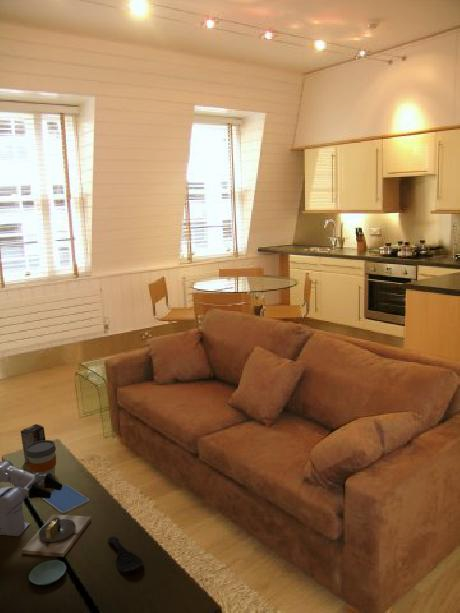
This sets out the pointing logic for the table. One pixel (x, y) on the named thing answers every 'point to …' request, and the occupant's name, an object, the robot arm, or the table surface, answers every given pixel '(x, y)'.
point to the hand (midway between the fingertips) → (56, 491)
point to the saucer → (47, 572)
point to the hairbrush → (125, 558)
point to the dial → (57, 530)
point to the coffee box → (31, 437)
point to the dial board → (57, 548)
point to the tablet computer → (66, 499)
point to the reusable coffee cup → (42, 457)
